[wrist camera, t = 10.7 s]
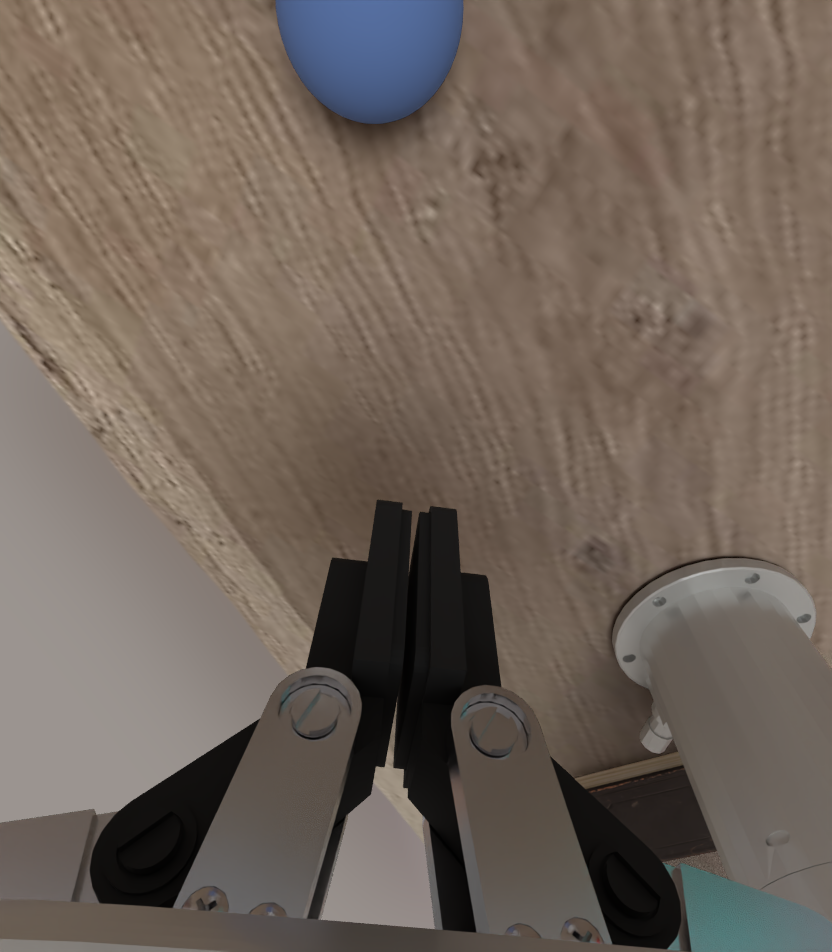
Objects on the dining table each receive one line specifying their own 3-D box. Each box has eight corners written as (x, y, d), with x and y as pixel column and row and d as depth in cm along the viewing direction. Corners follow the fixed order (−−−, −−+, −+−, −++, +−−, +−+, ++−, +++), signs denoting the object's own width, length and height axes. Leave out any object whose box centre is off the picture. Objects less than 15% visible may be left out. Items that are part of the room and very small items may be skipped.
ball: (471, -190, 15) (511, 64, 19) (320, -114, 18) (383, 87, 23) (346, -119, 13) (424, 151, 17) (198, -48, 16) (296, 163, 20)
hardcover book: (562, 770, 48) (567, 797, 46) (844, 697, 42) (864, 725, 40) (619, 846, 56) (626, 872, 54) (867, 793, 49) (885, 821, 47)
